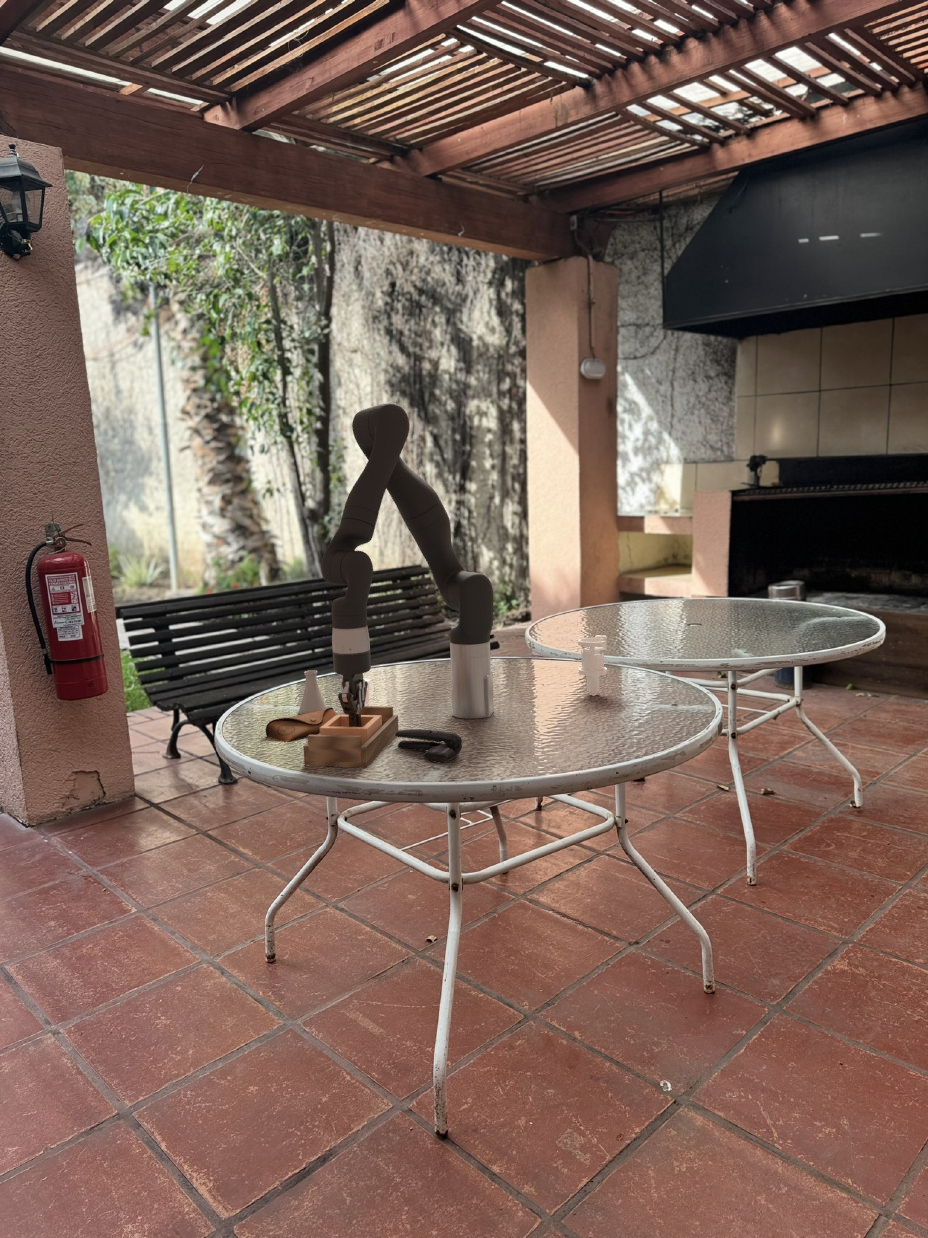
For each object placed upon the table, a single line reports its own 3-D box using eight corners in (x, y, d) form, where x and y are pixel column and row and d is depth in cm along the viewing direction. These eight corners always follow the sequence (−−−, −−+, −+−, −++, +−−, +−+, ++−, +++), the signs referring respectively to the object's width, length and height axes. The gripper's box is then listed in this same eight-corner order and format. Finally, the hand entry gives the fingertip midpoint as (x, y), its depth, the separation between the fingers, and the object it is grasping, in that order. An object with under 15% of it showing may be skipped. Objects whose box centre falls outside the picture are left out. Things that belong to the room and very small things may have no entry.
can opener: (471, 759, 175) (470, 731, 174) (445, 767, 170) (444, 739, 169) (411, 742, 187) (410, 716, 187) (385, 750, 183) (384, 723, 182)
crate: (382, 737, 187) (381, 715, 186) (368, 752, 176) (367, 728, 176) (337, 736, 188) (336, 714, 188) (321, 751, 178) (319, 728, 178)
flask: (322, 716, 211) (319, 674, 210) (293, 715, 213) (290, 674, 211) (332, 708, 218) (330, 668, 217) (304, 708, 220) (302, 668, 218)
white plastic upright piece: (607, 698, 219) (606, 637, 217) (578, 697, 221) (577, 638, 218) (607, 691, 226) (607, 633, 224) (579, 691, 227) (578, 633, 225)
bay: (398, 733, 194) (397, 706, 193) (366, 767, 171) (365, 737, 170) (343, 732, 196) (342, 705, 195) (304, 766, 173) (302, 736, 172)
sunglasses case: (286, 743, 189) (276, 714, 191) (272, 754, 194) (262, 725, 196) (354, 725, 201) (344, 698, 203) (339, 736, 206) (329, 710, 208)
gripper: (359, 654, 174) (363, 740, 177) (377, 643, 187) (381, 723, 190) (322, 654, 176) (327, 740, 178) (343, 643, 188) (347, 722, 191)
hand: (355, 731), depth 184 cm, fingers closed
